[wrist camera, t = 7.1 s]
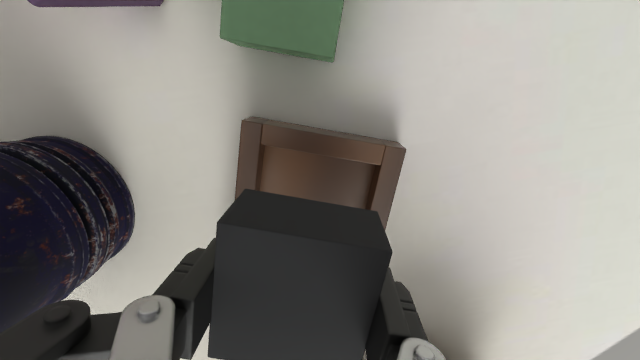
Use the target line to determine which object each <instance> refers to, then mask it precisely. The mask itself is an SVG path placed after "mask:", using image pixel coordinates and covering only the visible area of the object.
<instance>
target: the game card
mask: <svg viewBox="0 0 640 360" xmlns="http://www.w3.org/2000/svg"><path fill="white" fill-rule="evenodd" d="M28 1H29V2H30V3H31V4H32V5H34V6H37V7H108V6H160V5H161V4H162V2H163V0H28Z"/></svg>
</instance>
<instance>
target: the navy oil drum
mask: <svg viewBox="0 0 640 360" xmlns="http://www.w3.org/2000/svg"><path fill="white" fill-rule="evenodd" d="M134 218H135V213H134V206H133V202H132V198H131V195H130V193H129V190H128V188H127V186H126V184H125V183H124V181H123V179H122V178H121V176H120V175H119V174H118V172H117V171H116V170H115V169H114V168H113V166H112V165H111V164H110V163H109V162H107V161H106V160H105V159H104V158H103V157H102V156H100V155H99V154H98V153H96V152H95V151H93V150H92V149H90V148H88V147H86V146H85V145H83V144H81V143H78V142H75V141H73V140H70V139H66V138H62V137H56V136H39V137H32V138H27V139H23V140H20V141H10V142H0V333H1V332H3V331H5V330H6V329H8V328H9V327H11V326H13V325H14V324H16V323H17V322H19V321H21V320H22V319H24V318H26V317H27V316H29V315H30V314H32V313H34V312H35V311H37V310H39V309H40V308H42V307H45V306H47V305H49V304H52V303H55V302H59V301H61V300H63V299H65V298H66V297H67V296H68V295H69V294H70V293H71V292H72V291H73V290H74V289H75V288H77V287H78V286H80V285H81V284H82V283H84V282H85V281H86V280H87V279H88V278H90V277H91V276H92V275H93V274H94V273H95V272H97V271H98V270H99V268H100V267H101V266H102V265H103V264H104V263H105V262H106V261H107V260H109V259H110V258H112V257H113V256H115V255H116V254H117V253H118V252H119V251H120V250H122V249H123V248H124V246H125V245H126V244H127V242H128V241H129V239H130V237H131V234H132V232H133V227H134Z"/></svg>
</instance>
